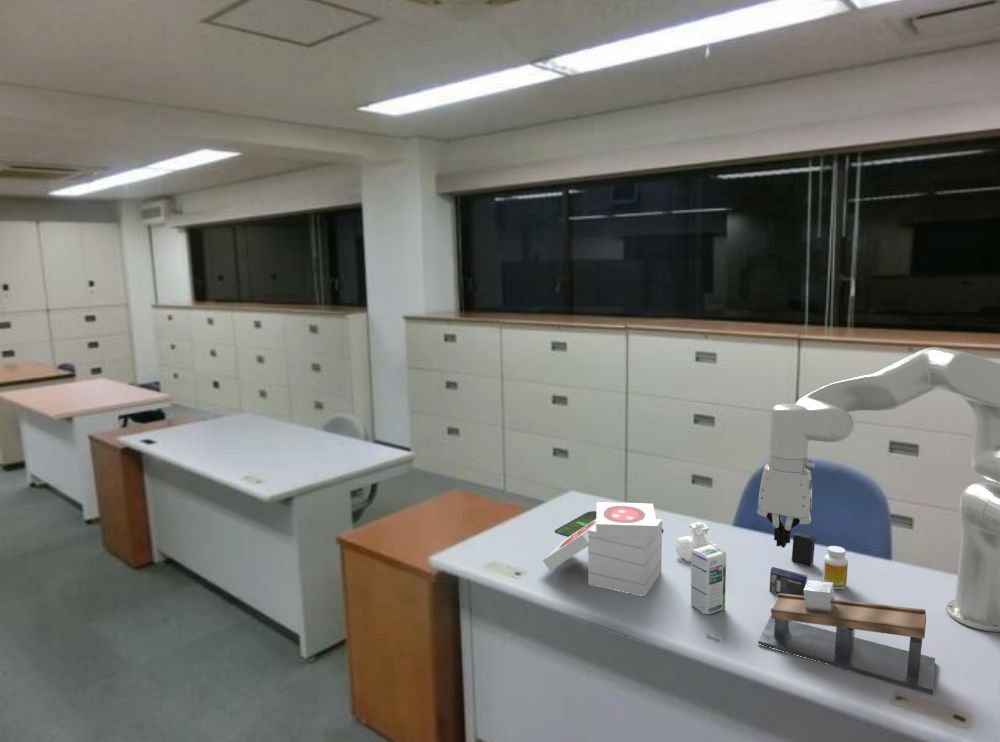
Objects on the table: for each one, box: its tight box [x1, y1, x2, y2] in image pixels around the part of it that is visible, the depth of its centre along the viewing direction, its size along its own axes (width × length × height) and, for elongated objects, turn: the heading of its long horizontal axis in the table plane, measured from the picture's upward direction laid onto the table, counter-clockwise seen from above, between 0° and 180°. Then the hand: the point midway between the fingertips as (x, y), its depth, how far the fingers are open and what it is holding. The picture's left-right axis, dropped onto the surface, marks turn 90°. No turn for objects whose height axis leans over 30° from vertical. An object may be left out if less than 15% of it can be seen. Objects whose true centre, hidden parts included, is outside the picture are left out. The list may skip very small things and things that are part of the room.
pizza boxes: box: [542, 501, 663, 597], centre depth 179 cm, size 19×30×18 cm, turn 61°
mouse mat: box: [554, 510, 664, 538], centre depth 208 cm, size 27×22×1 cm
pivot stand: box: [757, 615, 936, 695], centre depth 143 cm, size 32×12×8 cm, turn 57°
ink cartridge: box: [791, 532, 816, 567], centre depth 183 cm, size 5×2×8 cm, turn 47°
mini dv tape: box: [769, 566, 808, 596], centre depth 167 cm, size 8×2×6 cm, turn 53°
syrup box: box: [690, 545, 727, 616], centre depth 162 cm, size 6×6×14 cm
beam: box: [770, 593, 927, 640], centre depth 142 cm, size 28×9×3 cm, turn 56°
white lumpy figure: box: [675, 521, 719, 563], centre depth 188 cm, size 12×8×11 cm
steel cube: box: [804, 579, 836, 615], centre depth 144 cm, size 5×5×5 cm
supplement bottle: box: [822, 545, 849, 590], centre depth 171 cm, size 5×5×10 cm
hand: (781, 544), depth 146 cm, fingers closed
